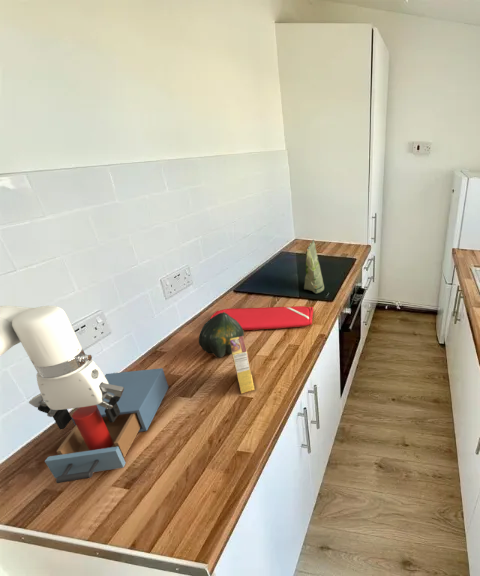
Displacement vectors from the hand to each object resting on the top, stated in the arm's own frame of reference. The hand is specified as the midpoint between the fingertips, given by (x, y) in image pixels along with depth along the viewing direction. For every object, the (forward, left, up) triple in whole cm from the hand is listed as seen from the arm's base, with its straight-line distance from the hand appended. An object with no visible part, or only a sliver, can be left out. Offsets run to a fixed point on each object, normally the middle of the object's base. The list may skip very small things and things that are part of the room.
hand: (91, 421), depth 76 cm
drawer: (0, 0, -10) cm, 10 cm away
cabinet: (0, +13, -11) cm, 17 cm away
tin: (0, 0, -9) cm, 9 cm away
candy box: (+30, +19, -11) cm, 37 cm away
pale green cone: (+54, +85, -11) cm, 102 cm away
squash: (+20, +39, -11) cm, 46 cm away
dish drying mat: (+32, +57, -11) cm, 66 cm away
